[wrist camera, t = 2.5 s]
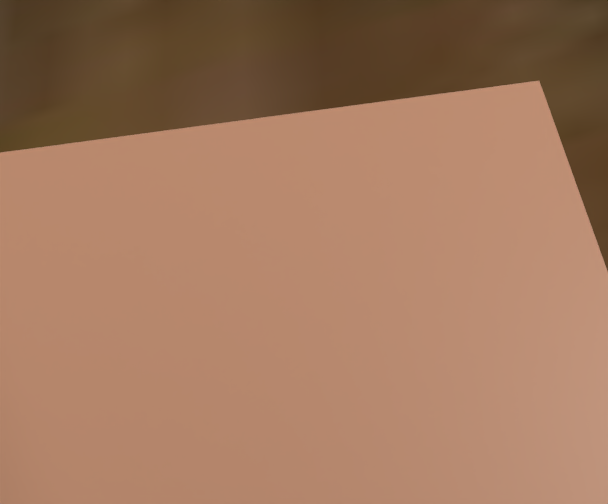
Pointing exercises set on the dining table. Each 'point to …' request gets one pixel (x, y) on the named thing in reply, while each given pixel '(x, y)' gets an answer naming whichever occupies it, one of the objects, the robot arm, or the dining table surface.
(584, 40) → the dining table surface
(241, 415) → the terracotta column
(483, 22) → the dining table surface
